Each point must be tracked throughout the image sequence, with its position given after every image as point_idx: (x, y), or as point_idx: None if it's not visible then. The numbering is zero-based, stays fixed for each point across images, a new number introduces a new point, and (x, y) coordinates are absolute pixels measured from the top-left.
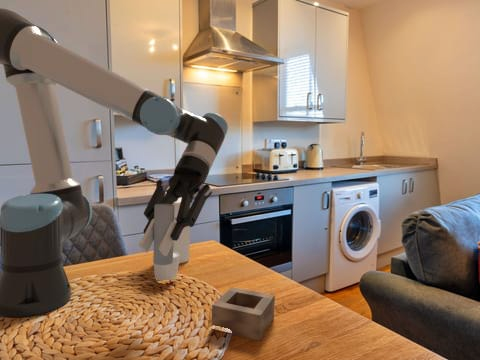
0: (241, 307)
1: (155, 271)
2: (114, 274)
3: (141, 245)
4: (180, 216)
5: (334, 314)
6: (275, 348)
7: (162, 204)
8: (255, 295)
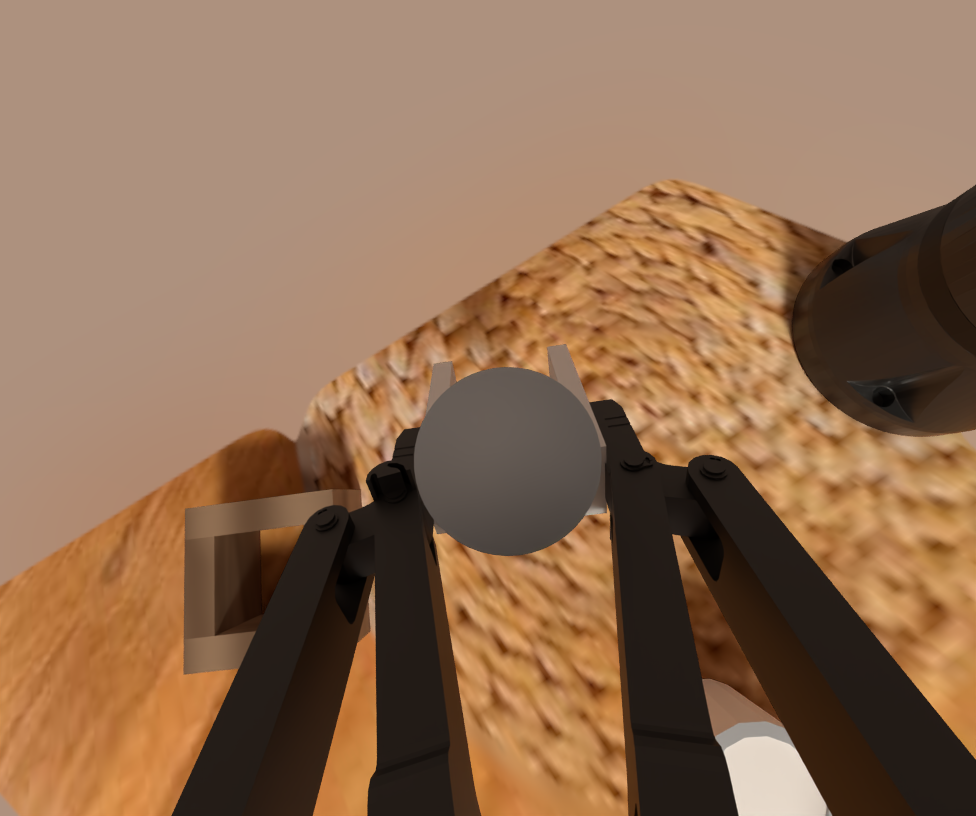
0: (249, 524)
1: (747, 700)
2: (932, 655)
3: (549, 347)
4: (390, 516)
5: (77, 778)
6: (192, 497)
7: (553, 482)
8: (241, 634)
